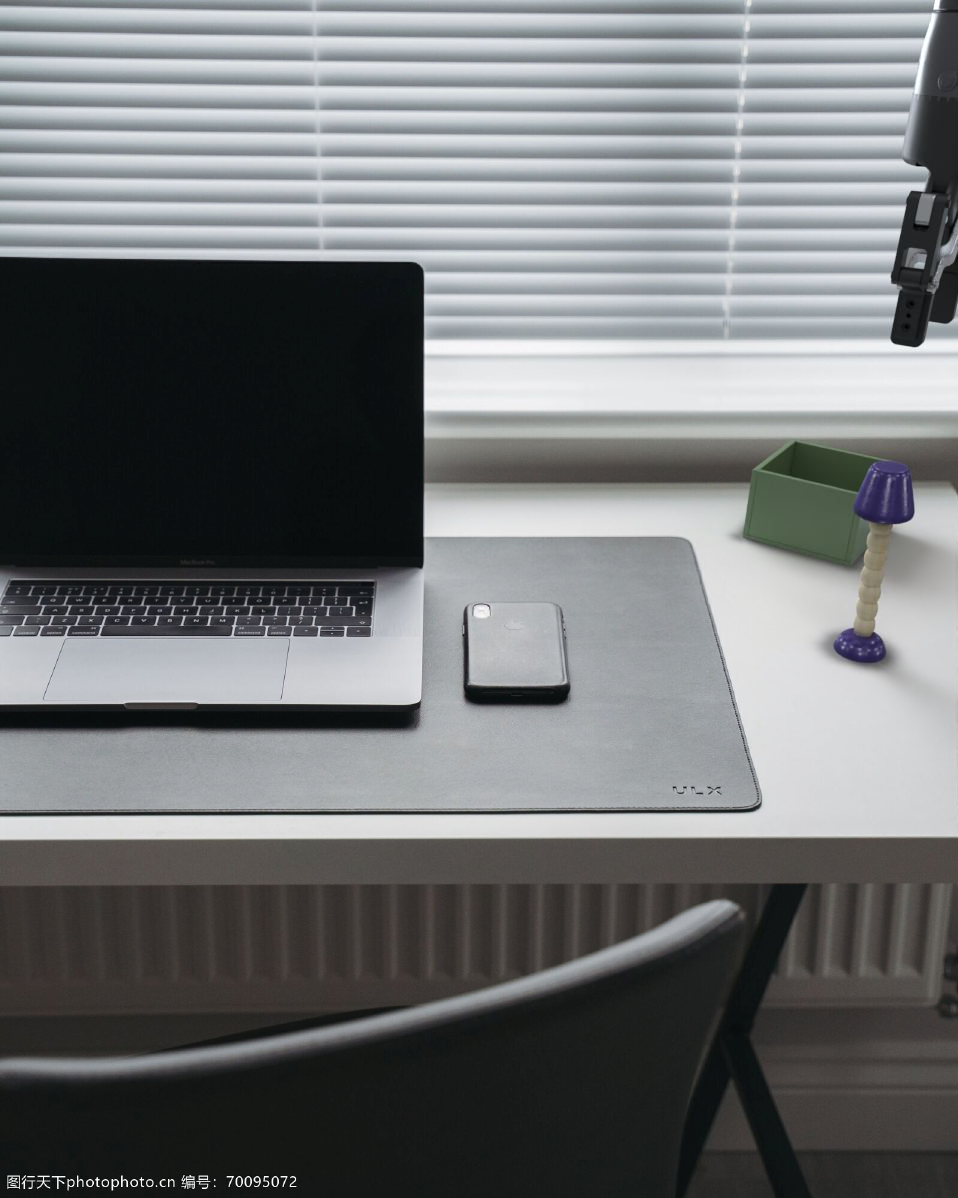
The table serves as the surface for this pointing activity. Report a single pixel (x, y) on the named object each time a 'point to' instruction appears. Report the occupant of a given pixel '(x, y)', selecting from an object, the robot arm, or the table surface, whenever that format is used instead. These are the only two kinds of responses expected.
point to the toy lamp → (876, 553)
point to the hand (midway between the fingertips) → (922, 332)
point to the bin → (809, 501)
